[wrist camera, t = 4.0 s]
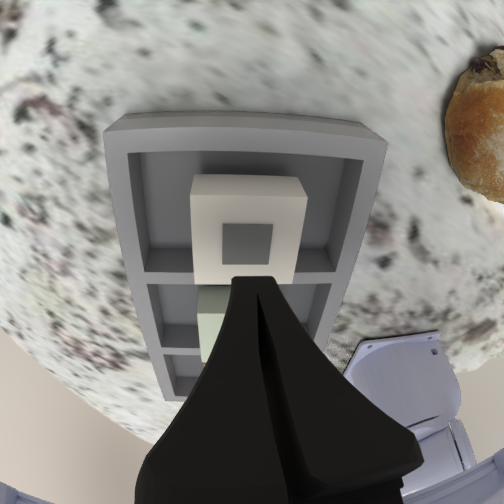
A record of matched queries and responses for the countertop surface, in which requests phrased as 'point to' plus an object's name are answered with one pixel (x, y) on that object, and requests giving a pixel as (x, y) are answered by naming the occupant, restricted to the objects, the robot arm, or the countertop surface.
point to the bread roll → (479, 126)
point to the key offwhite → (245, 226)
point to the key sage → (211, 315)
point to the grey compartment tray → (234, 163)
